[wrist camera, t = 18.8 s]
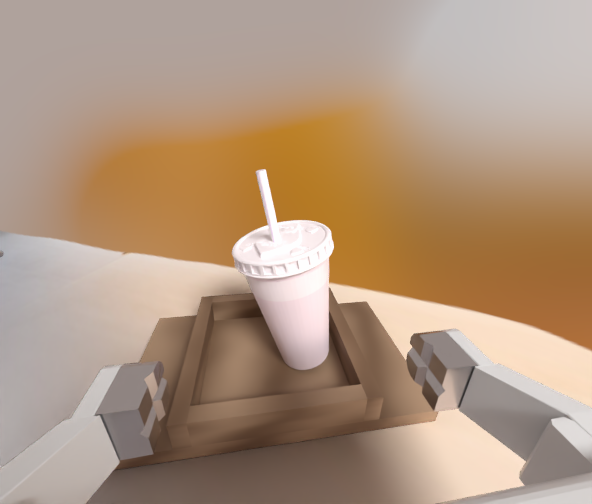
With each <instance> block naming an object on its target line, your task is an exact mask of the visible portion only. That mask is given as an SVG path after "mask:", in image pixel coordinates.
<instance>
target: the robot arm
mask: <svg viewBox="0 0 592 504" xmlns="http://www.w3.org/2000/svg"><path fill="white" fill-rule="evenodd" d="M410 344H411V345H412V347H413V348H412V349H411V350H410V351H409V352H408V354H407V359H406V362H407V368H408V371H409V373H410V376H411V377H412V379H413V380H414V382H416V383H417V384H419V385H420V386H422V394H423V396H424V397H425V399H426V400H427V402H428V403H429V405H430V406H431V408H432V409H433V411H434V412H436V411H444V410H452V409H459V411H461V412H462V413H463V414H465V415H466V416H467V417H469V418H470V419H471V420H472V421H474V422H475V423H476V424H478V425H479V426H480V427H482V428H483V429H484V430H486V431H487V432H488V433H490V434H491V435H492V436H494V437H495V438H496V439H498V440H499V441H500V442H501V443H503V444H504V445H505V446H507V447H508V448H509V449H511V450H512V451H513V452H515V453H516V454H517V455H519V456H520V457H521V458H523V459H524V460H525V461H526V463H525V464H524V466H523V468H522V470H521V471H520V476H519V478H520V480H521V481H522V482H523V484H524V485H525V486H521V487H516V488H511V489H506V490H501V491H496V492H491V493H486V494H481V495H476V496H472V497H467V498H462V499H457V500H452V501H447V502H442V503H437V504H592V408H591V407H589V406H587V405H585V404H583V403H581V402H579V401H576V400H574V399H572V398H570V397H568V396H566V395H564V394H562V393H560V392H557V391H555V390H553V389H551V388H549V387H547V386H545V385H543V384H541V383H539V382H536V381H534V380H532V379H530V378H528V377H526V376H524V375H522V374H520V373H518V372H515V371H513V370H511V369H509V368H507V367H505V366H503V365H501V364H494V363H493V362H492V361H491V360H490V359H489V358H488V357H487V356H486V355H484V354H483V353H482V352H481V351H480V350H479V349H478V348H477V347H476V346H475V345H474V344H473V343H472V342H471V341H470V340H469V339H468V338H467V337H466V336H465V335H464V334H463V333H462V332H460V331H459V330H457V329H449V330H441V331H433V332H424V333H416V334H413V336H412V337H411V341H410ZM163 373H164V367H163V364H162V362H160V361H155V362H143V363H130V364H124V365H111V366H105V367H104V368H102V369H101V370H100V371H99V373H98V375H97V376H96V378H95V380H94V381H93V383H92V384H91V386H90V388H89V389H88V391H87V392H86V394H85V396H84V397H83V399H82V401H81V402H80V404H79V405H78V407H77V409H76V410H75V412H74V413H73V415H72V417H71V418H70V419H66V420H63V421H62V422H60V423H59V424H58V425H56V426H55V427H54V428H53V429H51V430H50V431H49V432H47V433H46V434H45V435H43V436H42V437H41V438H40V439H38V440H37V441H36V442H34V443H33V444H32V445H30V446H29V447H28V448H26V449H25V450H24V451H23V452H21V453H20V454H19V455H17V456H16V457H15V458H13V459H12V460H11V461H10V462H8V463H7V464H6V465H4V466H3V467H2V468H0V504H86V503H87V502H88V500H89V499H90V498H91V497H92V496H93V494H94V493H95V492H96V491H97V490H98V488H99V487H100V486H101V485H102V484H103V482H104V481H105V480H106V479H107V477H108V476H109V475H110V474H111V473H112V471H113V470H114V469H115V468H116V467H117V465H118V464H119V463H120V461H119V460H125V459H130V458H136V457H141V456H147V455H152V454H154V452H155V448H156V445H157V441H158V438H159V435H160V431H161V428H160V425H159V421H160V420H161V419H162V418H163V417H164V416H165V414H166V411H167V407H168V401H169V386H168V382H167V380H165V379H164V378H162V376H163Z"/></svg>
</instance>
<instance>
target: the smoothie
mask: <svg viewBox="0 0 592 504" xmlns="http://www.w3.org/2000/svg"><path fill="white" fill-rule="evenodd" d="M256 175H257V180H258V183H259V188H260V192H261V197H262V201H263V205H264V209H265V214H266V218H267V222H268V225H267V226H264V227H262V228H259V229H256V230H254V231H252V232H250V233H248V234H247V235H245V236H243V237H242V238H241V239H240V240H238V241H237V243H236V244H235V245H234V247H233V249H232V254H233V257H234V261H235V267H236V268H237V270H238V271H239V272H240V273H242V274H244V275H245V277H246V279H247V281H248V284H249V286H250V288H251V291H252V292H253V294H254V297H255V299H256V301H257V303H258V305H259V308H260V310H261V312H262V314H263V316H264V318H265V321H266V323H267V325H268V327H269V329H270V332H271V334H272V336H273V338H274V340H275V342H276V345H277V347H278V349H279V351H280V353H281V356H282V358H283V360H284V362H285V363H286V364H287V365H288V366H290V367H291V368H294V369H297V370H308V369H312V368H314V367H317V366H318V365H320V364H321V363H322V362H323V361H324V360H325V359H326V357H327V355H328V352H329V256H330V255H331V253H332V251H333V249H334V245H333V241H332V237H331V231H330V229H329V228H328V227H327V226H325V225H324V224H321V223H318V222H315V221H308V220H294V221H285V222H279V223H277V220H276V215H275V211H274V206H273V201H272V197H271V192H270V188H269V183H268V178H267V174H266V170H265V169H264V170H263V169H262V170H258V171H256Z"/></svg>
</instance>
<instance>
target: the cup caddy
mask: <svg viewBox="0 0 592 504" xmlns="http://www.w3.org/2000/svg"><path fill="white" fill-rule="evenodd" d="M155 361H160V362H162V364H163V367H164V373H163V376H162V378H164V379H165V380H167V382H168V386H169V401H168V407H167V411H166V414H165V416H164V417H163V418H162V419H161V420H160V421H159V425H160V428H161V431H160V435H159V438H158V441H157V445H156V448H155V452H154V454H152V455H147V456H141V457H136V458H130V459H125V460H119V461H120V463H119V464H118V465H117V467H116V468H115V469H114V470H117V469H124V468H130V467H137V466H143V465H150V464H156V463H163V462H170V461H176V460H183V459H189V458H196V457H202V456H209V455H215V454H222V453H228V452H235V451H241V450H248V449H254V448H261V447H267V446H274V445H280V444H287V443H293V442H300V441H306V440H313V439H319V438H326V437H332V436H339V435H345V434H352V433H358V432H365V431H371V430H378V429H384V428H391V427H397V426H404V425H410V424H417V423H423V422H430V421H435V420H436V417H437V414H438V411H436V412H434V411H433V409H432V408H431V406H430V405H429V403H428V402H427V400H426V399H425V397H424V396H423V394H422V386H420V385H419V384H417V383H416V382H414V380H413V379H412V377H411V376H410V373H409V371H408V368H407V362H406V360H405V359H404V357H403V356H402V354H401V353H400V351H399V350H398V348H397V347H396V345H395V344H394V342H393V341H392V339H391V338H390V336H389V335H388V333H387V332H386V330H385V329H384V327H383V326H382V324H381V323H380V321H379V320H378V318H377V317H376V315H375V314H374V312H373V311H372V309H371V308H370V306H369V305H368V303H367V302H354V303H342V304H338V303H337V301H336V299H335V297H334V295H333V293H332V291H331V289H330V288H329V352H328V355H327V357H326V359H325V360H324V361H323V362H322V363H321V364H320V365H318V366H317V367H314V368H312V369H308V370H297V369H294V368H291V367H290V366H288V365H287V364H286V363H285V362H284V360H283V358H282V356H281V353H280V351H279V349H278V347H277V345H276V342H275V340H274V338H273V336H272V334H271V332H270V329H269V327H268V325H267V323H266V321H265V318H264V316H263V314H262V312H261V310H260V308H259V305H258V303H257V301H256V299H255V297H254V294H253V293H249V294H236V295H222V296H208V297H202V299H201V302H200V306H199V310H198V313H197V316H185V317H172V318H160V319H159V321H158V323H157V326H156V328H155V330H154V332H153V334H152V336H151V339H150V341H149V343H148V345H147V347H146V349H145V351H144V354H143V356H142V358H141V360H140V362H139V363H143V362H155Z"/></svg>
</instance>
